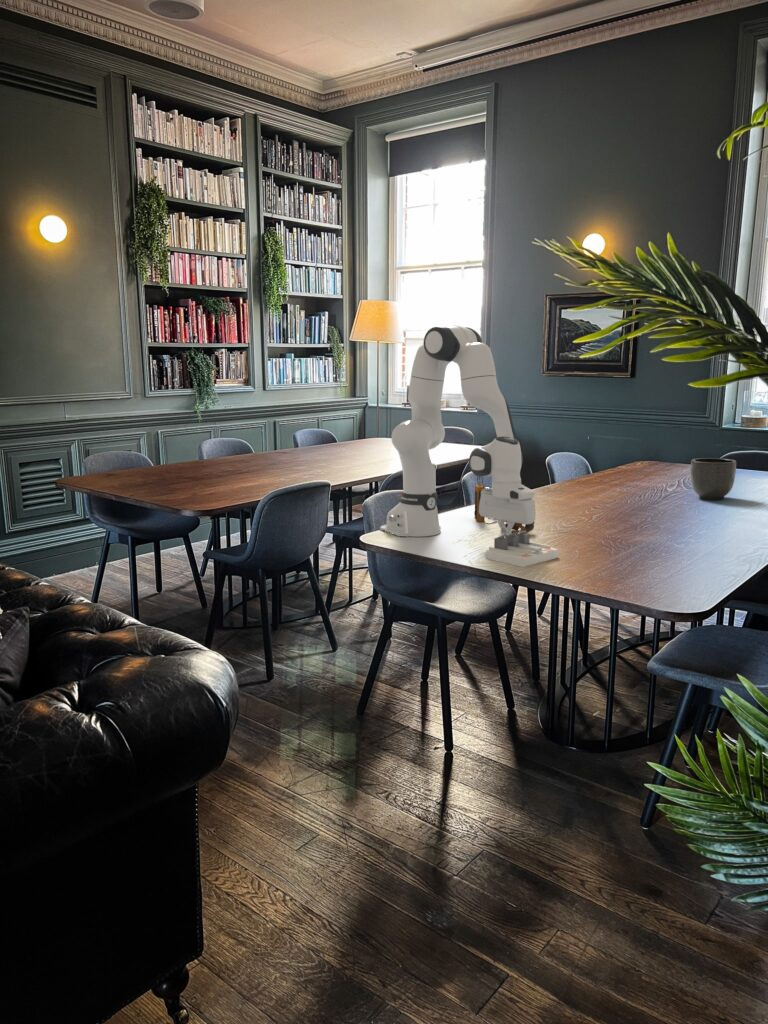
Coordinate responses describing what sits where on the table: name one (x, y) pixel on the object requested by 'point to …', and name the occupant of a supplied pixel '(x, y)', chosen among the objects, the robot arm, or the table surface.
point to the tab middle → (512, 540)
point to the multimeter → (478, 490)
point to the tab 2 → (523, 537)
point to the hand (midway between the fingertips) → (505, 534)
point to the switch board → (523, 554)
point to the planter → (712, 477)
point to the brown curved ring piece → (522, 527)
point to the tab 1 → (500, 543)
